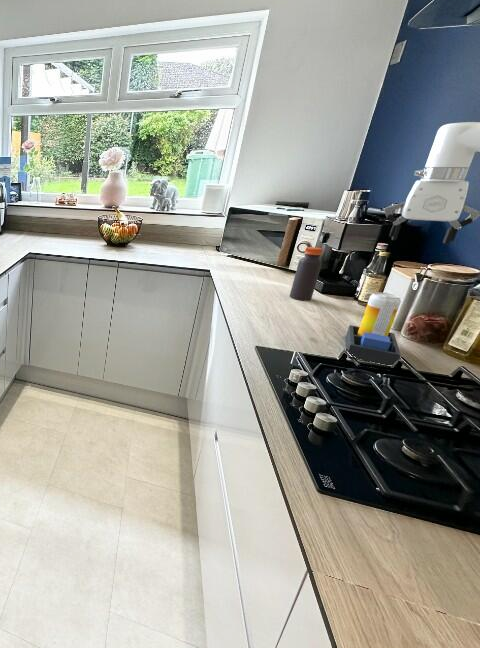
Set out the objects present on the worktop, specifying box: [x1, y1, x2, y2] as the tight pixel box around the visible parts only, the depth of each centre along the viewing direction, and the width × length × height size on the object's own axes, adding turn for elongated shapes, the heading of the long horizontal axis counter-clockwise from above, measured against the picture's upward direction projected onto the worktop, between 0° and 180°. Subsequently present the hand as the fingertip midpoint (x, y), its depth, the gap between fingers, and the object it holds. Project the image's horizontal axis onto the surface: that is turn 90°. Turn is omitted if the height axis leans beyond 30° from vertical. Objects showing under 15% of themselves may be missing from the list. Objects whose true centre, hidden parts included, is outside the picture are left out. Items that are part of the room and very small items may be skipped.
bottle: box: [289, 246, 323, 301], centre depth 154 cm, size 7×7×20 cm
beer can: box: [357, 291, 402, 336], centre depth 113 cm, size 6×6×15 cm
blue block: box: [359, 332, 391, 351], centre depth 109 cm, size 5×5×5 cm
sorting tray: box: [345, 324, 401, 366], centre depth 112 cm, size 10×18×4 cm, turn 138°
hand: (418, 241), depth 108 cm, fingers open, 9 cm apart
